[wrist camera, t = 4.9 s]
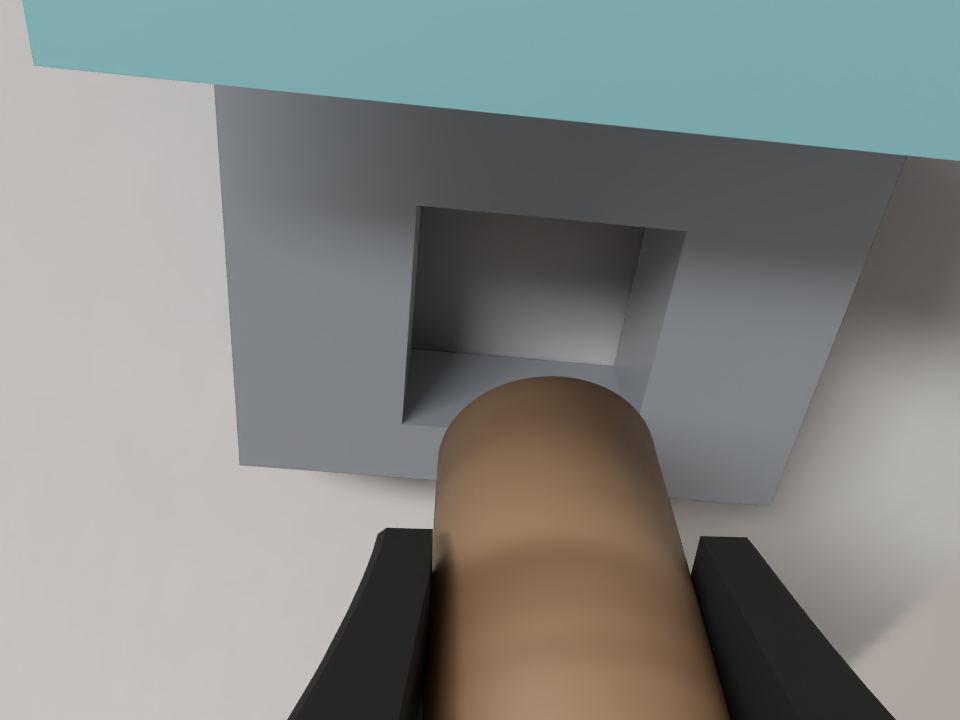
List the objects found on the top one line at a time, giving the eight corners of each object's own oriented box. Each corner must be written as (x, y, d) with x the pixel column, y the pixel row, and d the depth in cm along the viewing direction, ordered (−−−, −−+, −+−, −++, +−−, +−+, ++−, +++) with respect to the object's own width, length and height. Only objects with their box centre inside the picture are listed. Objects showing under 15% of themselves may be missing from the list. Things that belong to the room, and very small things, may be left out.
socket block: (913, -98, 15) (998, -79, 13) (736, 426, 22) (769, 505, 19) (245, -179, 15) (197, -176, 12) (268, 387, 21) (239, 465, 19)
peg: (644, 542, 15) (756, 1036, 9) (441, 544, 15) (418, 1038, 9) (665, 374, 13) (827, 860, 7) (432, 377, 13) (393, 865, 7)
